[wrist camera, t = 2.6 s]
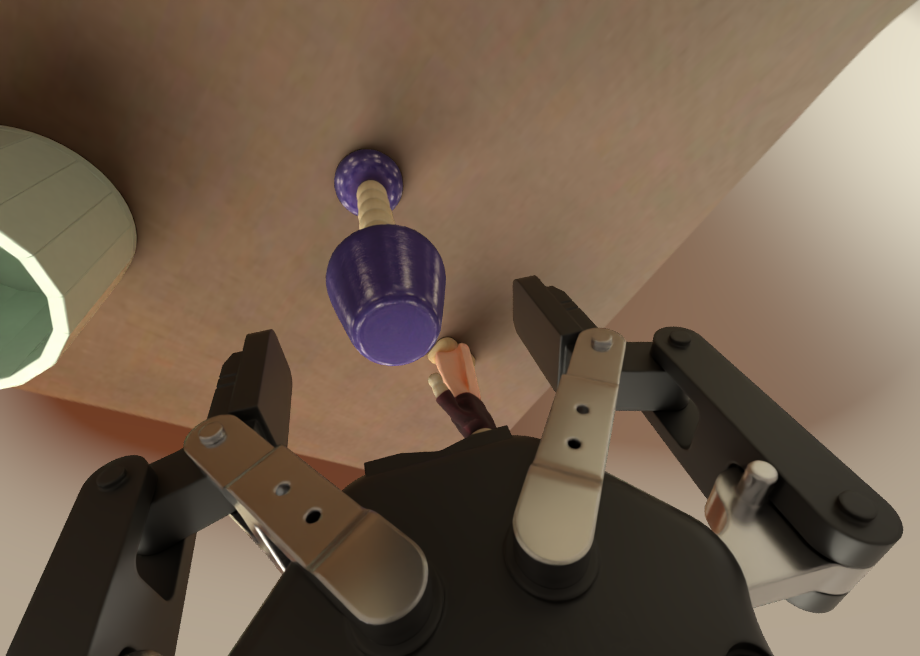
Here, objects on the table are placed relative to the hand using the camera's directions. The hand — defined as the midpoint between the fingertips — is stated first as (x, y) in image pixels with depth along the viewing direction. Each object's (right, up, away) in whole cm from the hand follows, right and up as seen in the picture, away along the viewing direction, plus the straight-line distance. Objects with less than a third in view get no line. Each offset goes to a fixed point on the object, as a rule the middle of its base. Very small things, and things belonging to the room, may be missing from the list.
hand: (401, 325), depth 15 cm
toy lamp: (-4, +9, +13) cm, 16 cm away
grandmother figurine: (+1, -2, +22) cm, 23 cm away
